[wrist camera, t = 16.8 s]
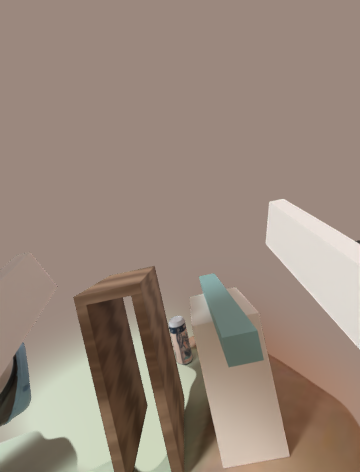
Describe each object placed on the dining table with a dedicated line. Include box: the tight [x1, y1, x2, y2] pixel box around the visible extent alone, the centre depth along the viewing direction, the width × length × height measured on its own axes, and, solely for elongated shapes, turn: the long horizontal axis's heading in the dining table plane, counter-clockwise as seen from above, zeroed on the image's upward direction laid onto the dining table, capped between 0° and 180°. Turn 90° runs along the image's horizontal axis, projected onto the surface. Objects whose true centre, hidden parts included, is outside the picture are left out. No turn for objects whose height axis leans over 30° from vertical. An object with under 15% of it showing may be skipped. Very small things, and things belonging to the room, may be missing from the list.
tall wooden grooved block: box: [74, 266, 184, 472], centre depth 33 cm, size 13×10×30 cm
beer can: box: [169, 316, 193, 365], centre depth 51 cm, size 5×5×12 cm
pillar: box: [190, 287, 290, 468], centre depth 32 cm, size 12×10×22 cm
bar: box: [199, 273, 264, 367], centre depth 29 cm, size 24×4×3 cm, turn 179°
